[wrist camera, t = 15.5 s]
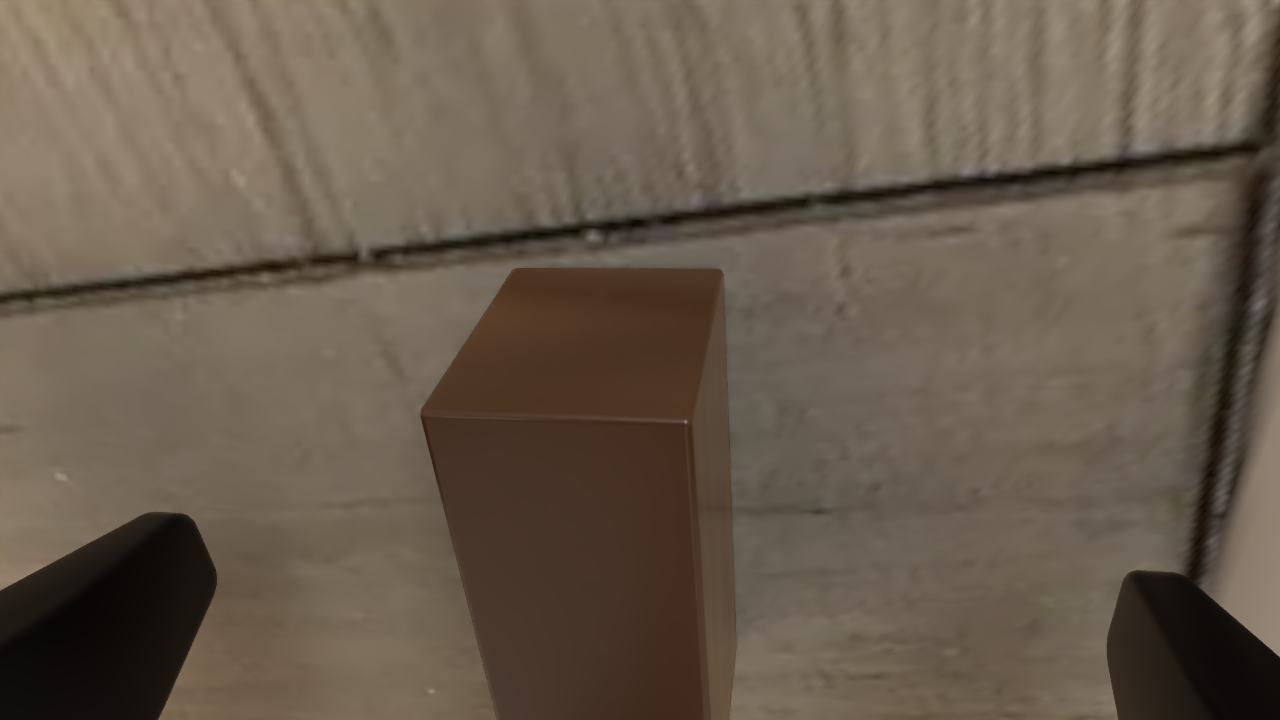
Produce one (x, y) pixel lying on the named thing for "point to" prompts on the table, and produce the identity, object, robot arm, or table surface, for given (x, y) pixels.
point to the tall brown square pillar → (594, 493)
